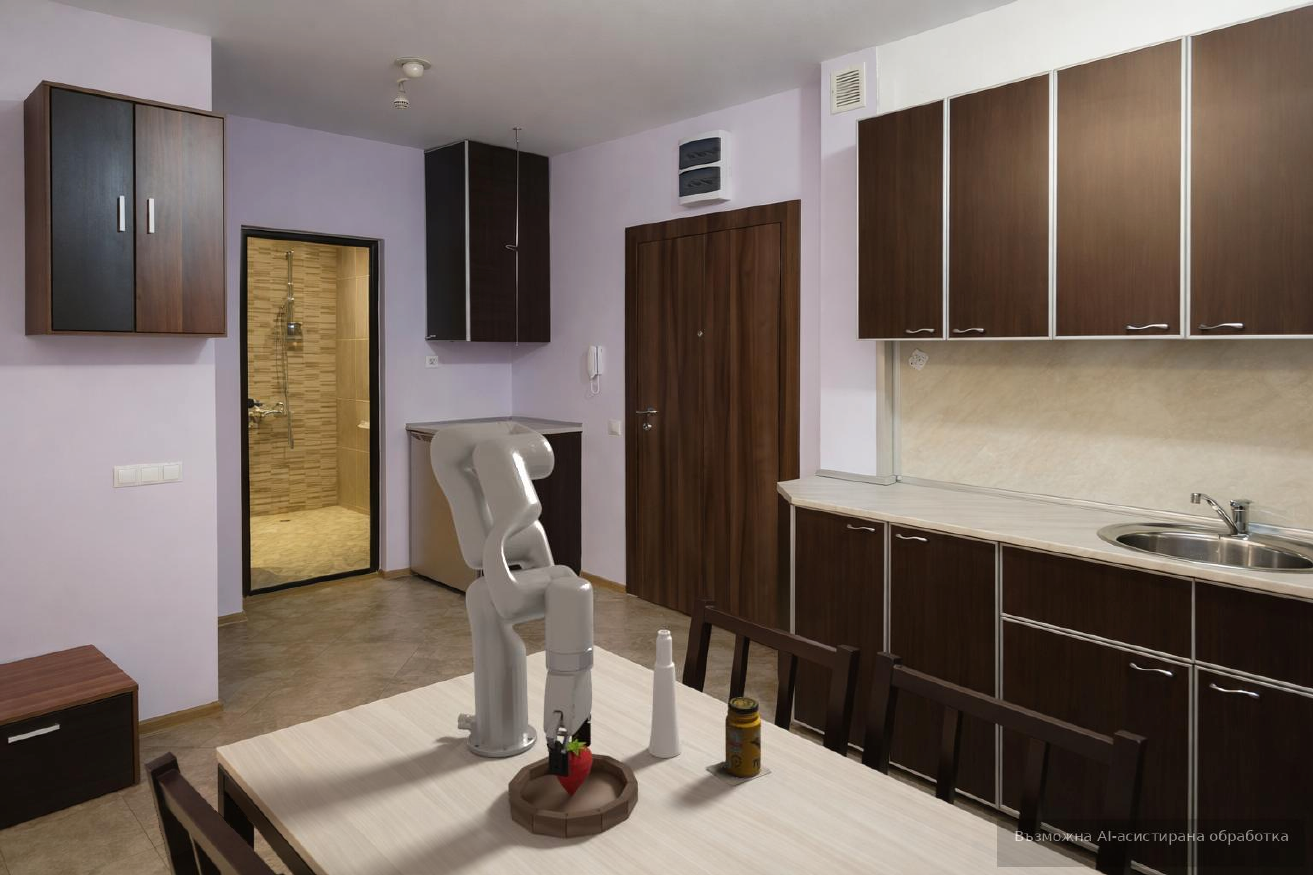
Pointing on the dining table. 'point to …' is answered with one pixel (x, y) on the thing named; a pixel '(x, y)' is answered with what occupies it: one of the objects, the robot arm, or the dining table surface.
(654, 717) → the cosmetic bottle
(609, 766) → the tray
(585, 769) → the strawberry
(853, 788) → the dining table surface
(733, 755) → the condiment
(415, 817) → the dining table surface
